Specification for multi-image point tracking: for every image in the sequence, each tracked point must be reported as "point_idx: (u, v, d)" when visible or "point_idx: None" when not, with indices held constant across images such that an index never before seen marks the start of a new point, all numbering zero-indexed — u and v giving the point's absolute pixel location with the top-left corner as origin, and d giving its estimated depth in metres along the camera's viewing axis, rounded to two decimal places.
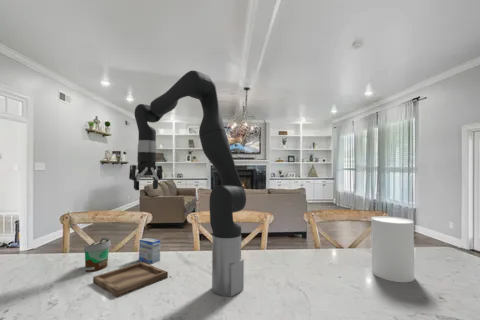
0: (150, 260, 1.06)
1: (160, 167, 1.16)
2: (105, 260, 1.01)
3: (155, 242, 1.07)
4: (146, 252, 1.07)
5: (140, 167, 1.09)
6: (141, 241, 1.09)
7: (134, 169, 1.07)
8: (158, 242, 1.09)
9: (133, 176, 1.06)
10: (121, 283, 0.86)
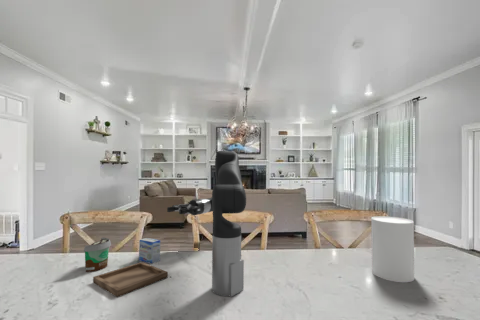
0: (150, 260, 1.06)
1: (198, 207, 1.23)
2: (105, 260, 1.01)
3: (155, 242, 1.07)
4: (146, 252, 1.07)
5: None
6: (141, 241, 1.09)
7: None
8: (158, 242, 1.09)
9: (174, 205, 1.28)
10: (121, 283, 0.86)
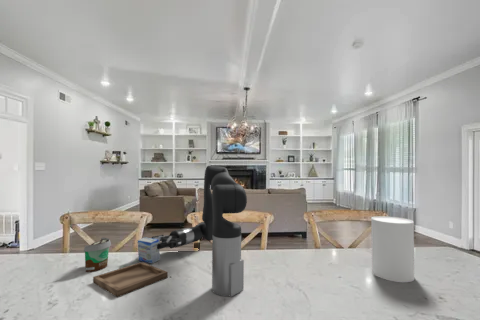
0: (150, 260, 1.06)
1: (179, 239, 1.14)
2: (105, 260, 1.01)
3: (153, 242, 1.06)
4: (145, 252, 1.07)
5: None
6: (139, 242, 1.08)
7: (160, 235, 1.21)
8: (156, 242, 1.08)
9: (154, 236, 1.19)
10: (121, 283, 0.86)
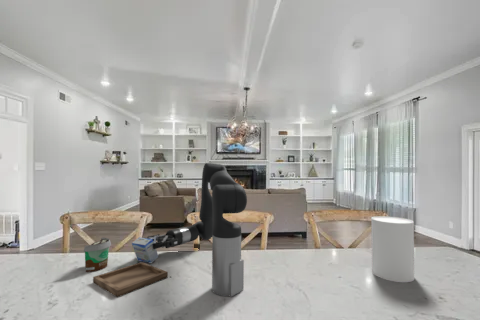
0: (149, 260, 1.05)
1: (175, 239, 1.12)
2: (105, 260, 1.01)
3: (148, 244, 1.04)
4: (142, 253, 1.06)
5: None
6: (133, 244, 1.06)
7: (156, 235, 1.19)
8: (151, 242, 1.06)
9: (150, 236, 1.17)
10: (121, 283, 0.86)
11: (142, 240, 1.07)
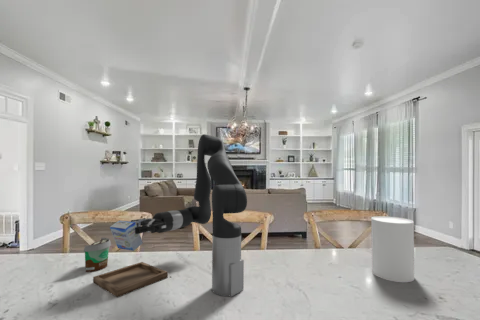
0: (130, 248, 0.87)
1: (163, 223, 0.94)
2: (105, 260, 1.01)
3: (129, 227, 0.85)
4: (122, 239, 0.87)
5: None
6: (112, 228, 0.87)
7: None
8: (133, 225, 0.87)
9: (133, 220, 0.98)
10: (121, 283, 0.86)
11: (122, 223, 0.88)
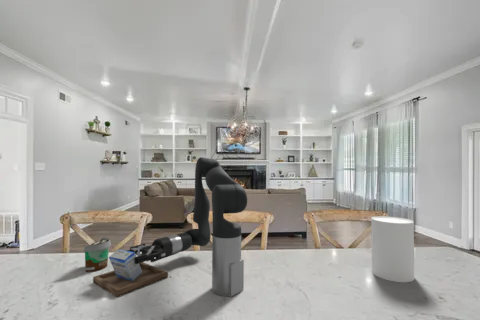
0: (130, 278, 0.86)
1: (162, 250, 0.93)
2: (105, 260, 1.01)
3: (128, 258, 0.85)
4: (121, 270, 0.87)
5: None
6: (111, 258, 0.87)
7: (140, 245, 1.00)
8: (132, 255, 0.86)
9: (133, 246, 0.98)
10: (121, 283, 0.86)
11: (122, 253, 0.88)
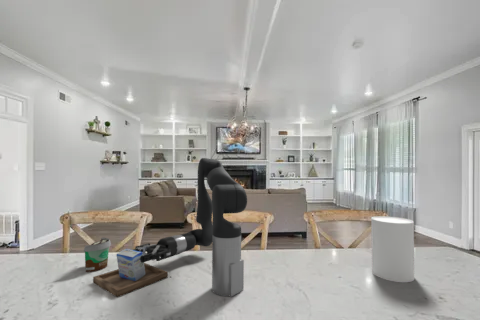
0: (133, 278, 0.87)
1: (167, 250, 0.95)
2: (105, 260, 1.01)
3: (136, 256, 0.87)
4: (127, 268, 0.88)
5: None
6: (119, 256, 0.89)
7: (145, 244, 1.02)
8: (140, 255, 0.89)
9: (138, 246, 1.00)
10: (121, 283, 0.86)
11: (130, 252, 0.90)
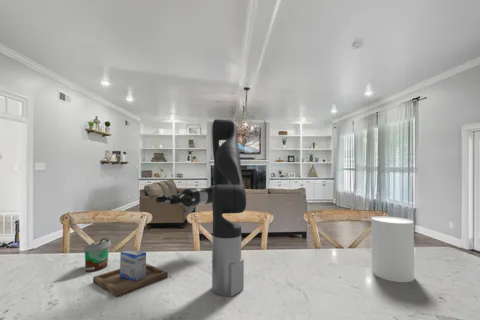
0: (134, 277, 0.87)
1: (192, 196, 1.05)
2: (105, 260, 1.01)
3: (140, 255, 0.89)
4: (129, 267, 0.89)
5: None
6: (123, 254, 0.90)
7: None
8: (143, 255, 0.90)
9: (165, 195, 1.10)
10: (121, 283, 0.86)
11: (134, 251, 0.91)
